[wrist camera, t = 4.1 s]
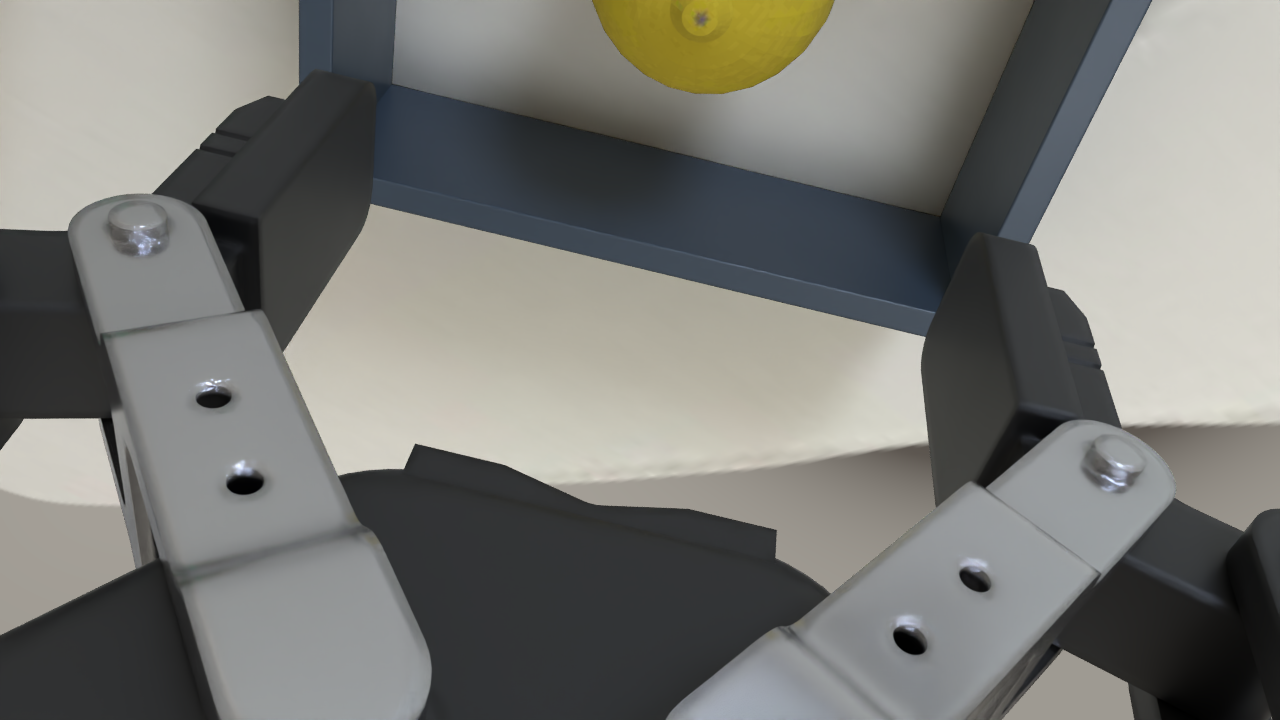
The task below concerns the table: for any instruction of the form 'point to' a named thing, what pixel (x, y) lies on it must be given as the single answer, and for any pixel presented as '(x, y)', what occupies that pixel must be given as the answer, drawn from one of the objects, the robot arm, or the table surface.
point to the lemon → (711, 38)
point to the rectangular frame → (731, 174)
